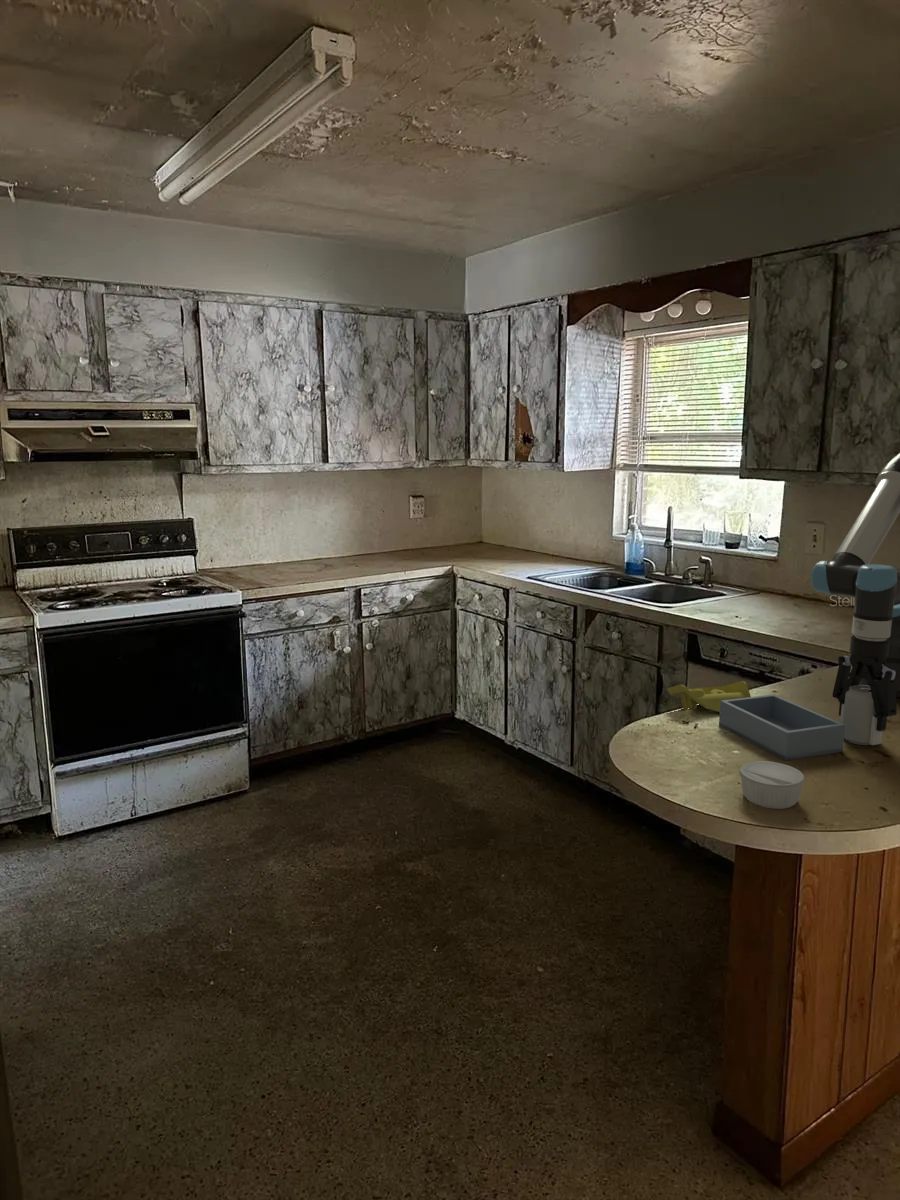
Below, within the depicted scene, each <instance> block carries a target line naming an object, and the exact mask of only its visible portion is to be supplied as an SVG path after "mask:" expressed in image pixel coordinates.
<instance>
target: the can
mask: <svg viewBox="0 0 900 1200" xmlns="http://www.w3.org/2000/svg"><path fill="white" fill-rule="evenodd" d="M849 689H850V690H849V691H847V692H846V695H845V704H844V714H843V724H844V725H845V733H844V740H845V741H847V742H849V743H852V744H854V745H859V746H870V744H869V742H870V733H871V724H872V715H876V712H875V707H874V701H873V698H872V693H871V689H870V686H867V685H855V686H850V687H849Z"/></svg>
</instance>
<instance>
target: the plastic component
mask: <svg viewBox="0 0 900 1200" xmlns="http://www.w3.org/2000/svg"><path fill="white" fill-rule="evenodd" d="M666 690H667V692H668V693H669V694H670V696H672V697H680V700H681V706H682V709H683V710H684V709H685V710H693V709H697V708H698V705H700V706H701V707H704V708H706V709H707V710H710V711H713V712H717V713H718V712H719V713H720V702H721V701H722V700H731V699H739V698H747V697H752V696H751V693H750V690H749V686H748V684H747V682H746V681H742V680H741V681H737V682H734V683H731V684H726V685H722V686H709V687H707V686H706V687H705V686H703V687H690V688H688V687H687V686H686V685H684V684H677V685H675V686H669V687H667V689H666ZM688 708H689V709H688Z"/></svg>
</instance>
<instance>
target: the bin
mask: <svg viewBox="0 0 900 1200" xmlns="http://www.w3.org/2000/svg"><path fill="white" fill-rule="evenodd" d="M718 726H719V727H721V728H722V729H724V730H727V731H729V732H730V733H732V734H734V735H736V736H738V737H739V738H742V739H744V740H745V741H748V742H749V743H751V744H753V745H755V746H757V747H759V748H761V749H763V750H764V749H765V751H767V752H768V751H769V752H768V753H770V754H773V755H774V756H776V757H777V758H780V759H781V760H784V761H790V760H797V759H803V758H808V757H815V756H822V755H823V756H824V755H827V754H828V755H829V754H836V753H840V752H841V753H842V752H843V751H844V744H845V743H844V742H845V741H844V740H845V738H844V733H845V725H844V724H842V723H840V721H838V720H836V719H835V720H834V719H832V718H831V717H828V716H827V715H823V714H821V713H819V712H816V711H814V710H811V709H809V708H807V707H804V706H802V705H800V704H797V703H796V702H793V701H791V700H789V699H785V698H784V697H781V696H779V695H776V694H773V693H772V694H767V695H764V694H763V695H759V696H758V695H757V696H751V697H747V698H739V699H731V700H722V701H721V702H720V712H719V719H718Z"/></svg>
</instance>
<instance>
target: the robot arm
mask: <svg viewBox="0 0 900 1200" xmlns="http://www.w3.org/2000/svg"><path fill="white" fill-rule="evenodd" d="M875 486H876V487H875V488H874V490H873V492H872V493H871V495H870V496H869V498H868V500H867V502H866V503H865V505H864V506H863V508H862V510H861V511H860V513H859V515H858V516H857V518H856V519H855V521H854V522H853V524H852V526H851V528H850V529H849V531H848V533H847V534H846V536H845V538H844V539H843V541H842V543H841V544H840V546H839V548H838V549H837V550H836V552H835V554H834V555H833V557H832V559H831V560H820V561H818V562H816V563H815V565H814V566H813V568H812V571H811V574H810V583H811V585H812V588H813V589H814V591H816V592H818V593H821V594H827V595H830V596H841V597H847V598H854V609H853V612H852V613H853V615H852V626H851V633H852V636H851V637H850V641H849V643H850V644H849V652H850V653H851V654H850V655H848V654H847V655H841V656H839V657H838V658H837V661H838V668H837V674H836V678H835V681H834V687H833V690H832V694H831V695H832V697H833V698H834V699H836V700H838V702H839V708H838V716H840V717H839V718H840V720H839V722H840V723H842V724H843V714H844V704H845V695H846V692H847V691H849V690H850V689H849V687H850V686H855V685H867V686H870V689H871V693H872V698H873V701H874V707H875V712H876V715H872V724H871V733H870V742H869V744H870V745H871V746H877V745H880V744H882V743H883V742H882V740H883V734H884V733H883V732H885V731H886V728H887V719H888V717H894V716H896V715H897V710H898V709H897V708H898V707H897V698H896V697H900V567H899V568H896V567H894V566H892V565H887V564H886V565H885V564H877V563H876V564H875V563H873V564H872V563H871V561H872V560H873V558H874V556H875V555H876V553H877V551H878V550H879V548H880V547H881V545H882V543H883V542H884V539H885V537H886V536H887V535H888V533H889V531H890V529H891V528H892V526H893V525H894V523H895V521H896V520H897V517H898V516H899V515H900V452H899V453H898V454H896V455H895V456H894V457H893V458H891V460H889V461H888V462H887V463H886V464H885V465H884V467H883V468H882V469H881V470H880V472H879V474H878V475H877V477H876V479H875ZM870 563H871V564H870ZM870 745H869V746H870Z"/></svg>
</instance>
